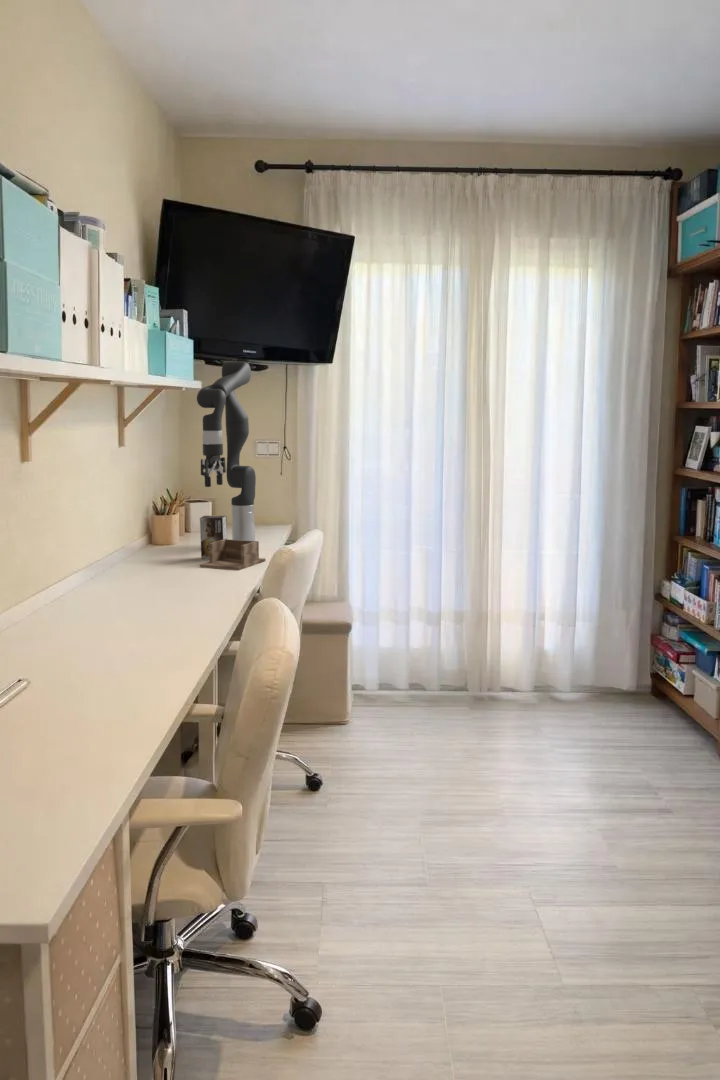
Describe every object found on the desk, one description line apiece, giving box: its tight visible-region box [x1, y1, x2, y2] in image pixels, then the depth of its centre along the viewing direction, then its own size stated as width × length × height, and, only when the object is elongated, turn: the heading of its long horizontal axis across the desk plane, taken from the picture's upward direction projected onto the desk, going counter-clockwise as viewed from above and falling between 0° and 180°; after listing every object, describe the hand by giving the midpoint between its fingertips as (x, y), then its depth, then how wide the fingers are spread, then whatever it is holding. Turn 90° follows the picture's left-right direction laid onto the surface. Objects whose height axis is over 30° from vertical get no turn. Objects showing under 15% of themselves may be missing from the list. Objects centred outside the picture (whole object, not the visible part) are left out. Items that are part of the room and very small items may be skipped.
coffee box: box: [199, 515, 228, 560], centre depth 343 cm, size 9×6×16 cm
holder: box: [199, 538, 266, 571], centre depth 330 cm, size 20×16×8 cm
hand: (213, 485), depth 339 cm, fingers open, 8 cm apart
